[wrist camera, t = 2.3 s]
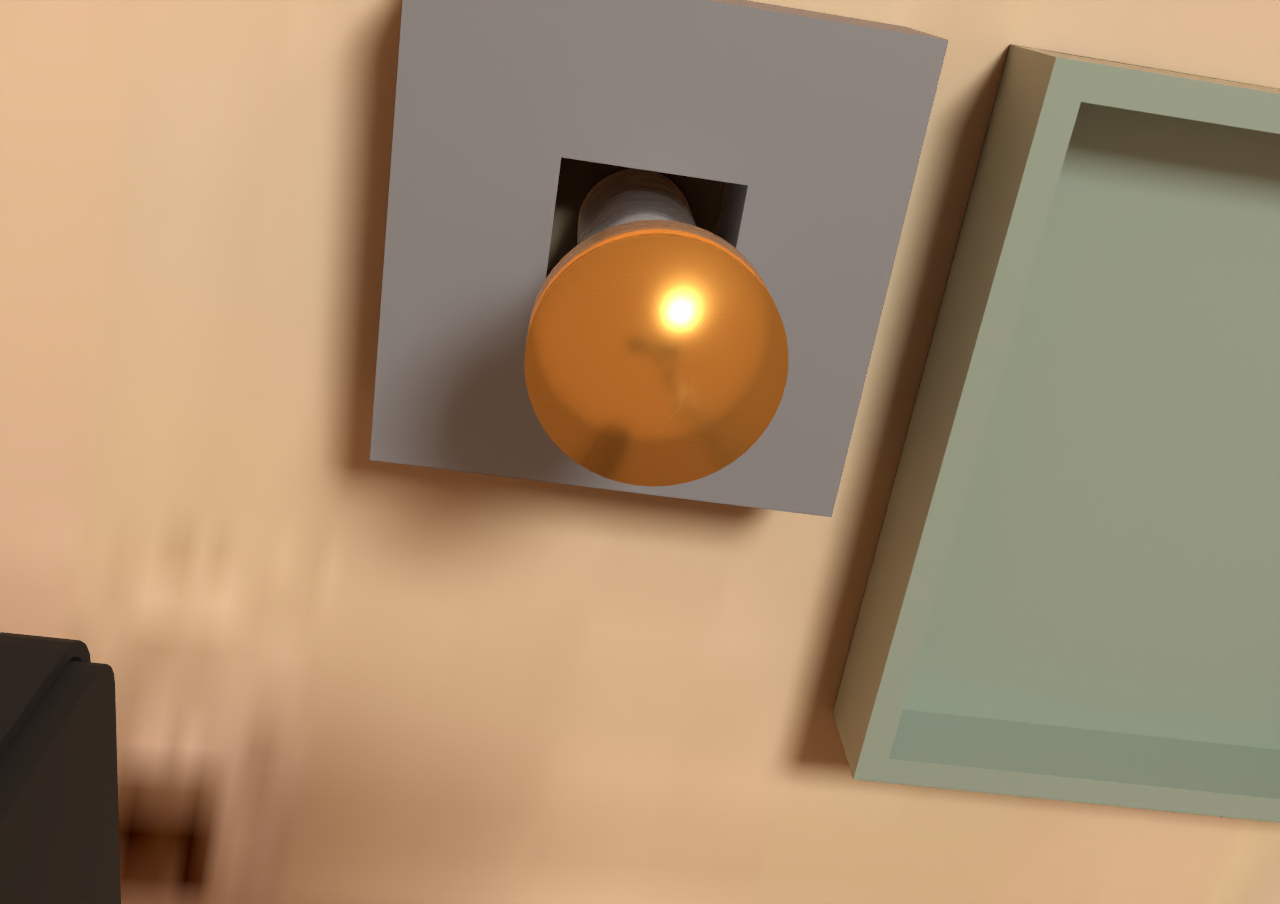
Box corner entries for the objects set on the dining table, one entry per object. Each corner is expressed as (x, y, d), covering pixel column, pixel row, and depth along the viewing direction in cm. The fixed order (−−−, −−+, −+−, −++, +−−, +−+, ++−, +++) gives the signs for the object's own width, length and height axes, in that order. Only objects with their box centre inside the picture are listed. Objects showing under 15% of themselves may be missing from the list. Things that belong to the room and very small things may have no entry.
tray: (1631, 147, 29) (1739, 170, 27) (1335, 766, 37) (1395, 834, 34) (1010, 44, 28) (1056, 57, 25) (832, 713, 35) (853, 779, 32)
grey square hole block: (906, 27, 27) (948, 40, 24) (806, 457, 32) (831, 517, 29) (427, -53, 26) (406, -50, 23) (392, 404, 31) (369, 460, 27)
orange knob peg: (739, 149, 28) (814, 257, 19) (707, 323, 30) (760, 501, 21) (557, 121, 28) (541, 218, 19) (534, 299, 30) (510, 469, 20)
